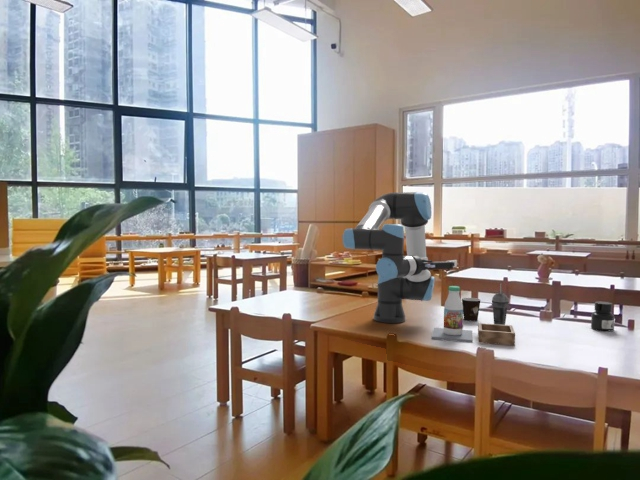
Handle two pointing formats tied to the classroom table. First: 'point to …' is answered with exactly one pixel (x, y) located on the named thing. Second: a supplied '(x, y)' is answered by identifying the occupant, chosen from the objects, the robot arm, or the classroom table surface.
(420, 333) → the classroom table surface
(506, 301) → the beverage cup
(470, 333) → the mat
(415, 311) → the classroom table surface
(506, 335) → the caddy
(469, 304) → the coffee mug
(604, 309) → the ink bottle
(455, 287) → the milk bottle
